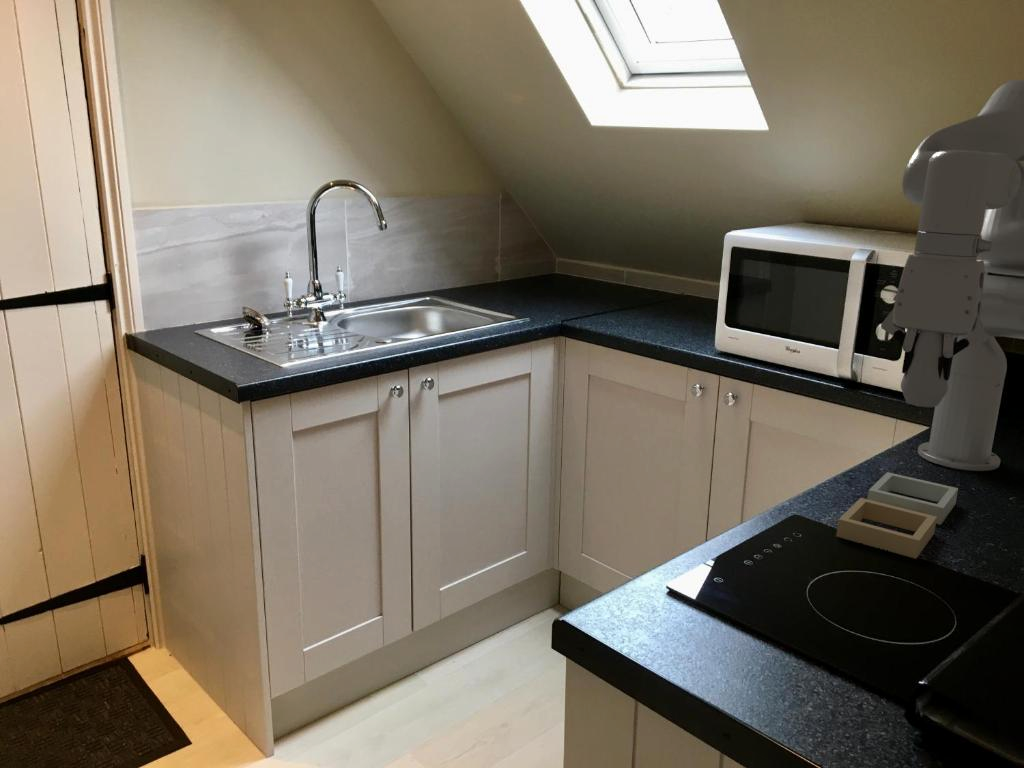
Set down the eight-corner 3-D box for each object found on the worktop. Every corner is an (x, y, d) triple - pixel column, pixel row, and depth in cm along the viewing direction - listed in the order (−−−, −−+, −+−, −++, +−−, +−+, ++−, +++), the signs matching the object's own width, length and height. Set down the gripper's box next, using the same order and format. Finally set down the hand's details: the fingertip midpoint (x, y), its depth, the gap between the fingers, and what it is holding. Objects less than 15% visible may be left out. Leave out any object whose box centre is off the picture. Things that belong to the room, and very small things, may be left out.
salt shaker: (931, 399, 121) (946, 308, 118) (952, 409, 115) (969, 314, 112) (890, 397, 120) (904, 306, 117) (910, 408, 115) (926, 312, 112)
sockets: (884, 487, 132) (887, 472, 132) (955, 504, 127) (958, 488, 126) (836, 536, 114) (838, 519, 113) (916, 558, 108) (919, 540, 107)
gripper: (1021, 251, 111) (995, 388, 115) (889, 241, 120) (870, 368, 125) (1012, 253, 105) (985, 398, 109) (874, 242, 115) (854, 375, 119)
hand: (924, 380), depth 117 cm, fingers closed on salt shaker, 3 cm apart
